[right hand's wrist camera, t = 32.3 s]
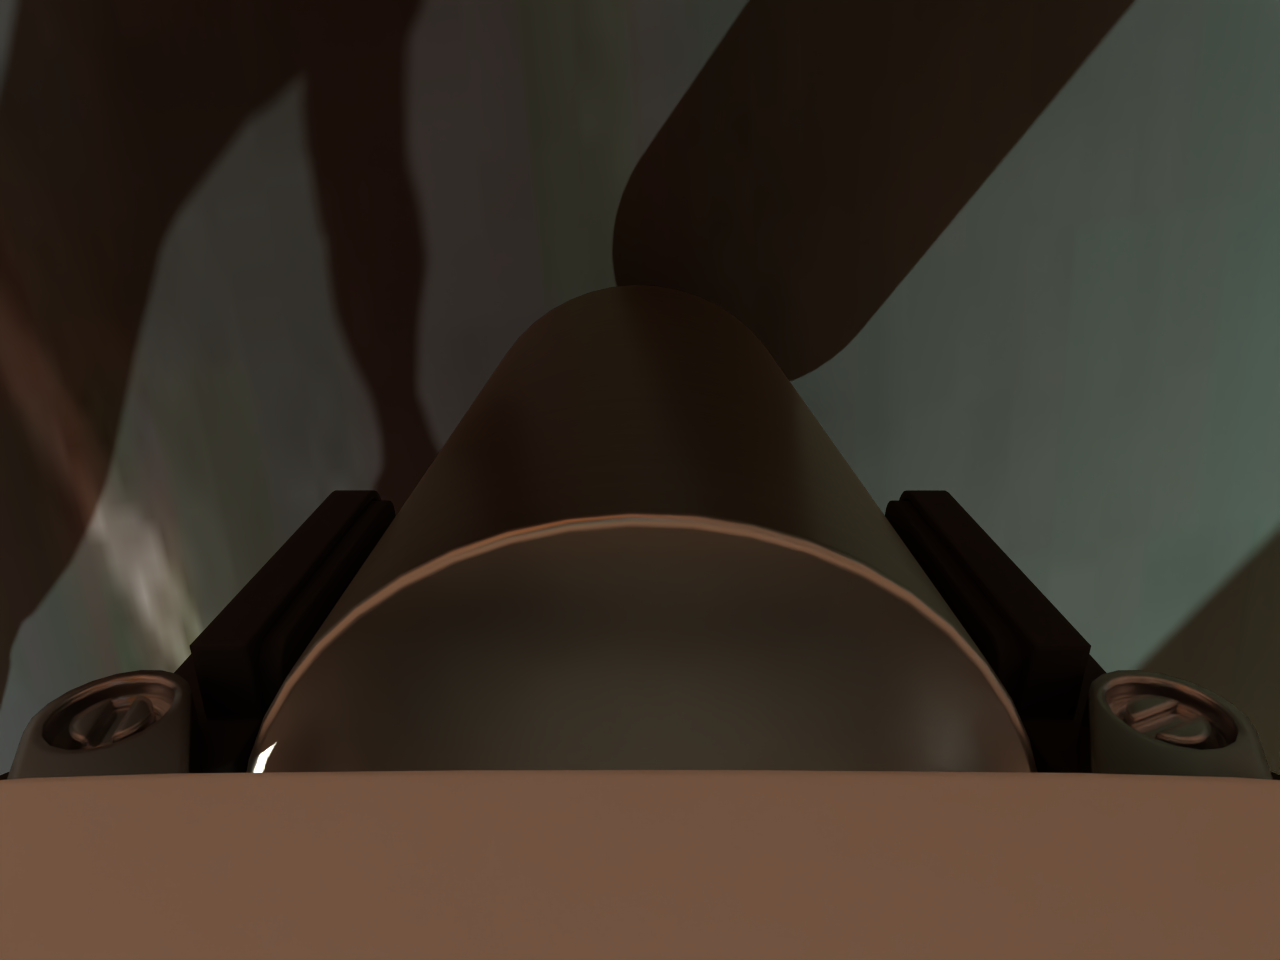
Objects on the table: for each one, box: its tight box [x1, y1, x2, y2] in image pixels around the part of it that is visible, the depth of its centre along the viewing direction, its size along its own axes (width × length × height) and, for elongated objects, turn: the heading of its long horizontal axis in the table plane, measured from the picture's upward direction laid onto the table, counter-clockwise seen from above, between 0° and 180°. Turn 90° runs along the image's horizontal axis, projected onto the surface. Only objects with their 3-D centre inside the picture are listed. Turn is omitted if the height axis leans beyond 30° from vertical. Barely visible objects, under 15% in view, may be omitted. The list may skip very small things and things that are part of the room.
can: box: [247, 285, 1037, 773], centre depth 12 cm, size 7×7×12 cm
